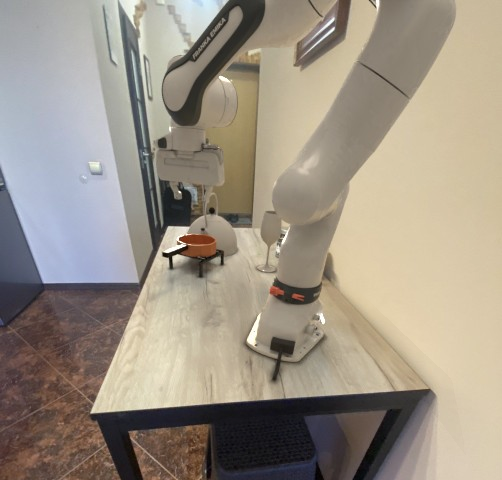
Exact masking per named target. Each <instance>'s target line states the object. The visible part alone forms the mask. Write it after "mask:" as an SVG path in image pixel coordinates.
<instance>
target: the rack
mask: <svg viewBox="0 0 502 480" xmlns="http://www.w3.org/2000/svg"><path fill="white" fill-rule="evenodd" d="M217 251H218V252H217ZM220 255H221V257H220V263H219V264H220V265H222V266H224V264H225V256H224V251H223V250H219V249H216V253H215V254H213V255H211V256H206V257H191V256H186V255H183V254H181V253H179V254H176V255H174V256H172V257H169V258H168V267H169V269H170V270H173V269H174V259H173V257H175V256H182V257H186V258H189V259H192V260H193V259H194V260H197V261H198V277H199V278H203V277H204V269H203V267H204V266H203V265H204V264H206V263H208V262H210V261H212V260H214V259H216V258H219V257H218V256H220Z"/></svg>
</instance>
